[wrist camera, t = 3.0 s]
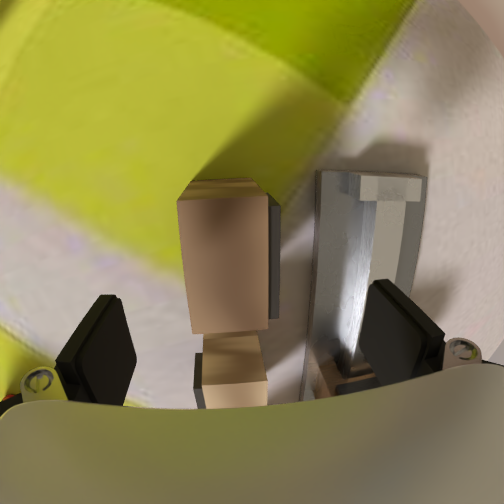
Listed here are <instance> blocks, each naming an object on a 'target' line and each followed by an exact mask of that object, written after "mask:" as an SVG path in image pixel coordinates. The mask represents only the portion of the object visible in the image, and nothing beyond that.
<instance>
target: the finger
mask: <svg viewBox="0 0 504 504" xmlns="http://www.w3.org/2000/svg"><path fill="white" fill-rule="evenodd" d="M177 211H178V222H179V232H180V242H181V251H182V260H183V269H184V277H185V285H186V292H187V299H188V307H189V313H190V320H191V327H192V333H193V334H207V333H224V332H239V331H252V330H264V329H268V319H277V318H279V291H280V213H281V206H280V205H279V204H278V203H277V202H276V201H275V199H274V198H273V197H272V196H271V195H270V194H269V193H265V192H264V191H263V190H262V189H261V188H260V187H259V186H258V185H257V184H256V183H255V181H254V180H253V179H252V178H233V179H214V180H198V181H191V182H190V183H189V184H188V186H187V187H186V189H185V190H184V191H183V193H182V194H181V196H180V197H179V199H178V200H177Z"/></svg>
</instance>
